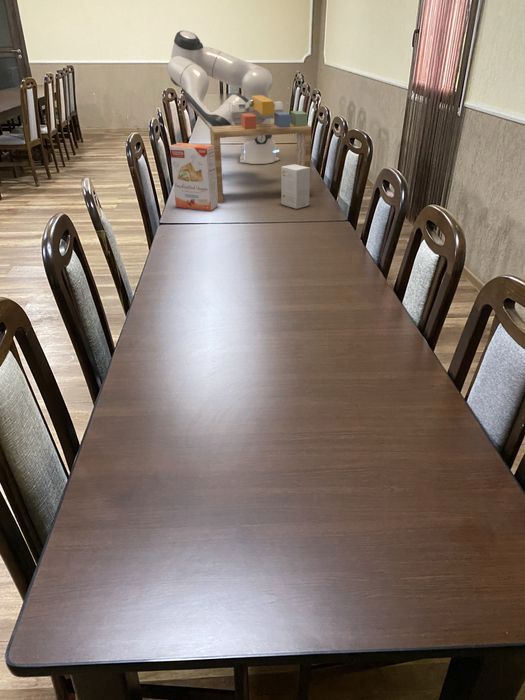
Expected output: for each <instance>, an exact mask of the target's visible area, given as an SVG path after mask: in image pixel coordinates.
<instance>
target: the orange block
mask: <svg viewBox="0 0 525 700" xmlns="http://www.w3.org/2000/svg"><path fill="white" fill-rule="evenodd" d="M252 100H253V102H254V105H253V106H252V108H253V109H255V110H256V111H258V112H259V113H261V114H262V115H266V114H274V102H275V101H274V100H272V99H271V98H267V97H265V96H263V95H256V96H252Z"/></svg>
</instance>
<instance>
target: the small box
mask: <svg viewBox="0 0 525 700" xmlns="http://www.w3.org/2000/svg"><path fill="white" fill-rule="evenodd" d="M280 168H281V171H280V172H281V174H280V175H281V177H280V178H281V179H280V180H281V181H280V182H281V183H280V186H281V187H280V188H281V189H280V190H281V193H280V194H281V195H280V196H281V197H280V203H281V205H282V206H286V207H289V208H292V209H302V208H305V207H309V206H310V195H309V193H311V192H310V191H311V190H310V189H311V188H310V187H311V166H310V167H305V166H300V165H297V163H296V164H295V163H294V164H288V165H287V164H286V165H283V166H281V167H280Z"/></svg>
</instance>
